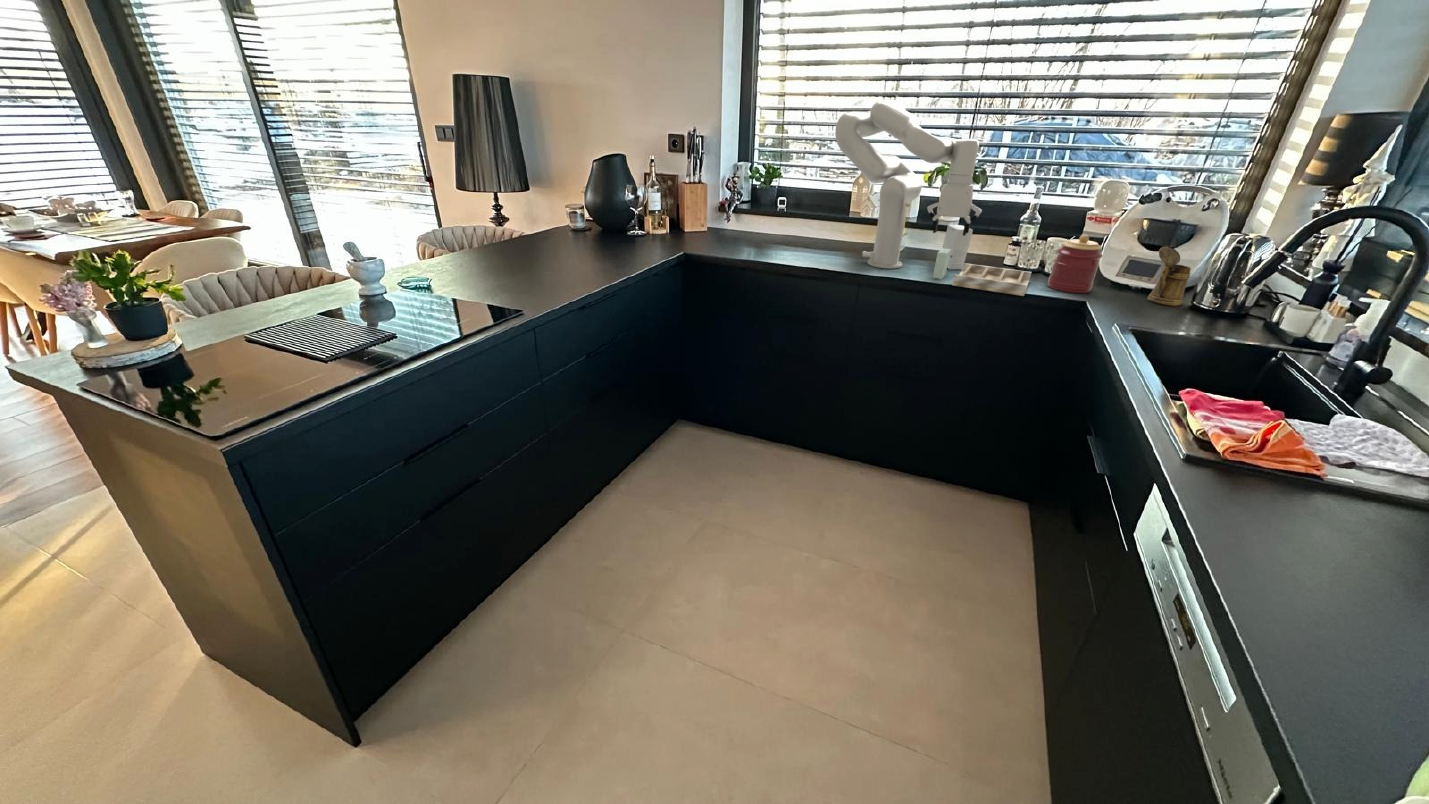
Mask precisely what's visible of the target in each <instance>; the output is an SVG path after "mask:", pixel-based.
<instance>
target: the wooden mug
mask: <svg viewBox="0 0 1429 804" xmlns="http://www.w3.org/2000/svg"><path fill="white" fill-rule="evenodd" d="M1158 255H1159V259H1160V260H1161V261H1162V262H1163V263H1164V266H1165V267H1164V268H1163V270H1162V271H1161V272H1160V273H1161V275H1160V277H1158V280H1157V281H1156V284H1155V286H1154V287H1153V289H1152V291H1151V292H1150V293H1149V295H1148V296H1147V298H1146V300H1147V301H1149V302H1150V303H1154V304H1158V305H1161V306H1162V305H1164V306H1169V307H1170V306H1171V307H1178V305H1180V306H1181V305H1183V301H1184V298H1183V297H1184V295H1185V291H1186V288H1187V287H1186V286H1187V283H1188V280H1189V278H1190V277H1191V270H1192V268H1191V267H1190V266H1188V265H1187V266H1186V265H1183V264H1179V263H1180V261H1181V254H1180V253H1179V251H1177V250H1176V249H1175V248H1174V247H1172V246H1170V245H1165V246H1162V247H1160V249H1159V250H1158Z"/></svg>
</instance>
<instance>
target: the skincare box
mask: <svg viewBox="0 0 1429 804" xmlns="http://www.w3.org/2000/svg"><path fill="white" fill-rule="evenodd" d="M963 230H964V225H961V224H947V229H946V233H945V237H944V240H943V244H942V248H944V249H951V252H950V257H949V262H948V266H947V268H948V269H947V270H962V268H963V264H964V263H965V262H966V258H967V254H968V250H969V246H970V242H971V238H972V236H973V235H972V234H973V231H974V230H973V229H972V228H970V227H969V232H968V233H966V235H965V236H963Z"/></svg>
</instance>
